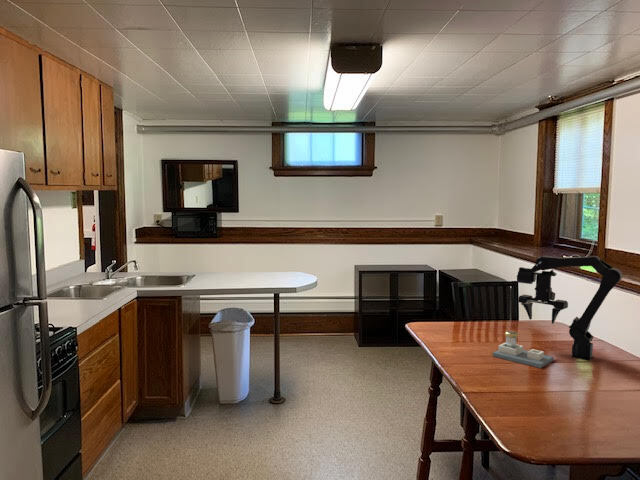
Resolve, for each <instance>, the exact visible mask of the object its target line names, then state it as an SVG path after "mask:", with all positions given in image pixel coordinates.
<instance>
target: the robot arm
mask: <svg viewBox="0 0 640 480" xmlns="http://www.w3.org/2000/svg"><path fill="white" fill-rule="evenodd" d="M568 267H569V268H570V267H592V268H593V269H594V270H595V271H596V272H597V273H598V274H599V275H601V277H602V278H601V281H600V283H599V287H598V289H597V290H596V292H595V293H594V295H593V297H592V298H591V300H590V302H589V303H588V305H587V306H586V308H585V310H584V312H583V313H582V315H581V316H580V317H578V316H575V318H574V319H572V322H571V324H570V325H569V326H568V328H569V329H568V334H569V335H570V337H571V338H572V339H573V344H571V357H572V358H575V359H580V360H584V361H590V360H592V359H593V358H594V355H593V351H594V350H593V346H594V343H593V342H592V341H593V339H594V336H593V334H592V333H591V332H590V331H589V329H590V327H591V323H592V321H593V318H594V317H595V315H596V314H597V312H598V311H599V309H600V307H601V306H602V304H603V302H604V300H606V298H607V296H608V295H609V293H610V292H611V291H612V290H613V288H614V287H615V286H616V285H617V284H618V283H619V282H620V281H622V279H623V276H624V275H623V271H621V270H620V269H619V268H616V267H613V266H612V265H610V264H608V263H607V262H606V261H604V260H603V259H601V258H600V257H599V256H597V255H591V256H574V257H559V256H554V255H553V256H551V255H542V256H540V257H537V258H536V260H535V264H534V266H532V267H531V268H528V267H521V266H520V267H519V268H518V272H517V275H516V282H517V283H519V284H526V285H533V283H535V287H534V291H535V295H534V297H533V295H530V294H522V295H519V296H518V299H517V302H518V303H520V305H522V306H523V308H524V309H525V311H526V312H525V313H526V314H527V316H528V318H529V320H530V321H531V320H532V319H533V304H534V303H535V304H542V305H548V306H552V307H553V308H552V309H551V310H552V311H551V324H555V322H556V319H557V317H558V315H559V313H560V312H561V311H563V310H565V309H568V307H569V302H568V301H567V300H564V299H557V300H555V299H556V293H555V292H554V291H553V288H552V277H556V276H558V275H557V274H558V273H556V272H555V271H554V269H557V268H568ZM549 270H550V271H549ZM539 271H541V272H539Z"/></svg>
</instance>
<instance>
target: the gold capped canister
mask: <svg viewBox="0 0 640 480" xmlns="http://www.w3.org/2000/svg"><path fill="white" fill-rule="evenodd" d="M504 335H505V342H506V347H509V348H513V349H515V348H516V344H517V338H518V337H519V332H518V331H517V332H516V331H514V330H505V331H504Z"/></svg>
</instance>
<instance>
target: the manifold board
mask: <svg viewBox="0 0 640 480" xmlns="http://www.w3.org/2000/svg"><path fill="white" fill-rule="evenodd" d="M492 357H494V358H498V359H502V360H506V361H511V362H515V363H518V364H521V365H526V366H530V367H535V368H538V369H542V368H543V367H545V366H547V365H548V364H550V363H551V362H554V356H551V355H548V354H545V351H543V350H538V349H534V348H531V349H530V350H527V349H526V350H525V349H524V345H521V344H518V343H516V348H515V349H513V348H509V347H506V341H505V342H503V343H501V344H499V345H498V349H497V350H496V351H493V352H492Z"/></svg>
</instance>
